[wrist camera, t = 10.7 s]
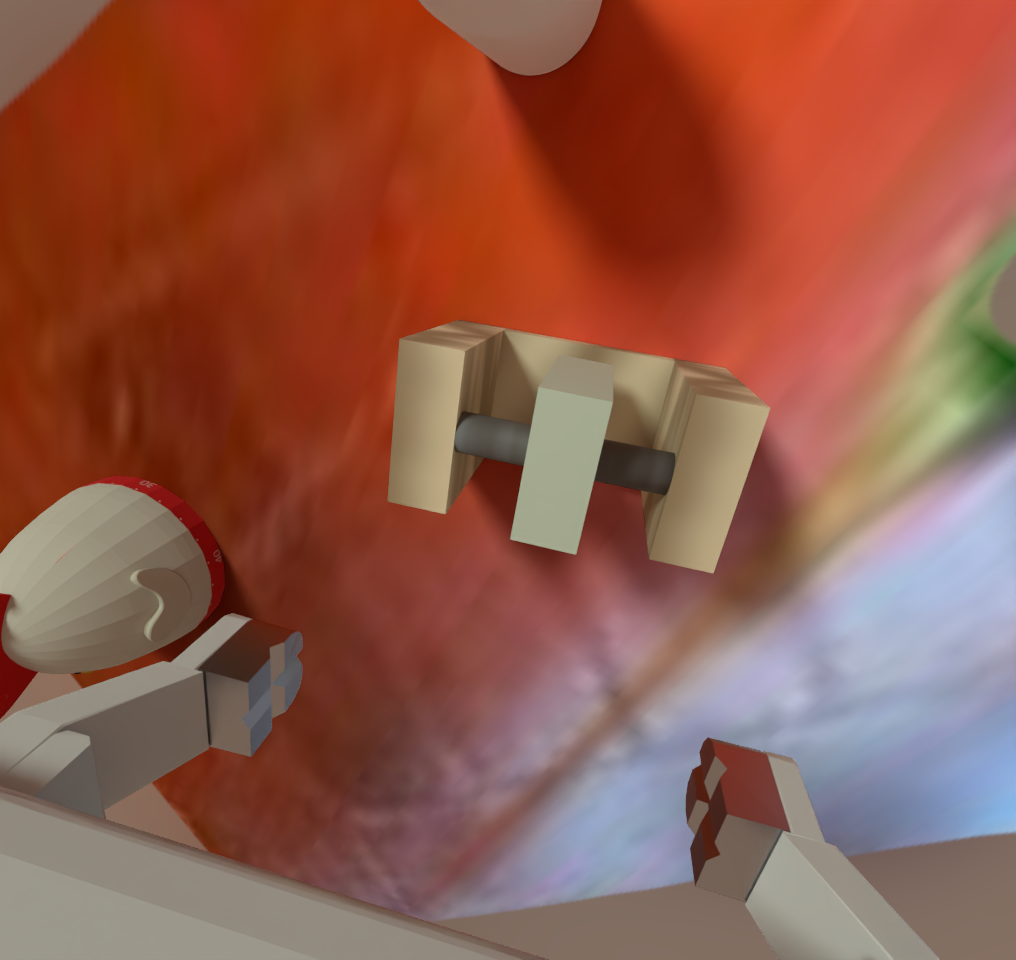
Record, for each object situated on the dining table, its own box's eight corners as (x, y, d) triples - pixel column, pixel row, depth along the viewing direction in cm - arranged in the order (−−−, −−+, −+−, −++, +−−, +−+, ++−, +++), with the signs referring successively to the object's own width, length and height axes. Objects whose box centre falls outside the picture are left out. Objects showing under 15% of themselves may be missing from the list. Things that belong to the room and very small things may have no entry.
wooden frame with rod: (725, 368, 32) (770, 408, 22) (687, 493, 35) (713, 573, 26) (458, 319, 33) (399, 338, 24) (444, 443, 36) (387, 501, 27)
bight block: (613, 364, 30) (613, 402, 22) (585, 481, 32) (576, 554, 24) (559, 354, 30) (538, 387, 22) (536, 471, 33) (510, 539, 25)
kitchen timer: (95, 615, 48) (-111, 753, 35) (52, 469, 43) (-210, 562, 30) (238, 636, 46) (78, 791, 32) (209, 483, 41) (5, 591, 27)
